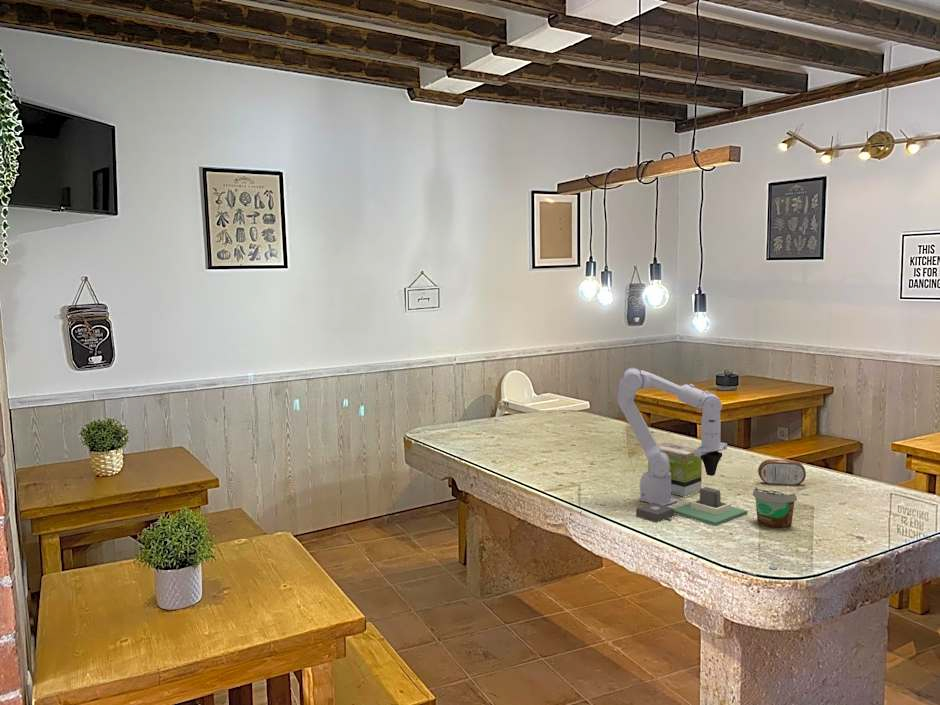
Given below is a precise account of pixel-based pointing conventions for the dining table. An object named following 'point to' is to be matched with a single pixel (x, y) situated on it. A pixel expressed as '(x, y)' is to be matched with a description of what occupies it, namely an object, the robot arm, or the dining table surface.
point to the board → (709, 512)
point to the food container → (774, 508)
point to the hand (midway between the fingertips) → (710, 475)
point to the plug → (710, 497)
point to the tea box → (683, 469)
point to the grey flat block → (655, 512)
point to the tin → (782, 472)
